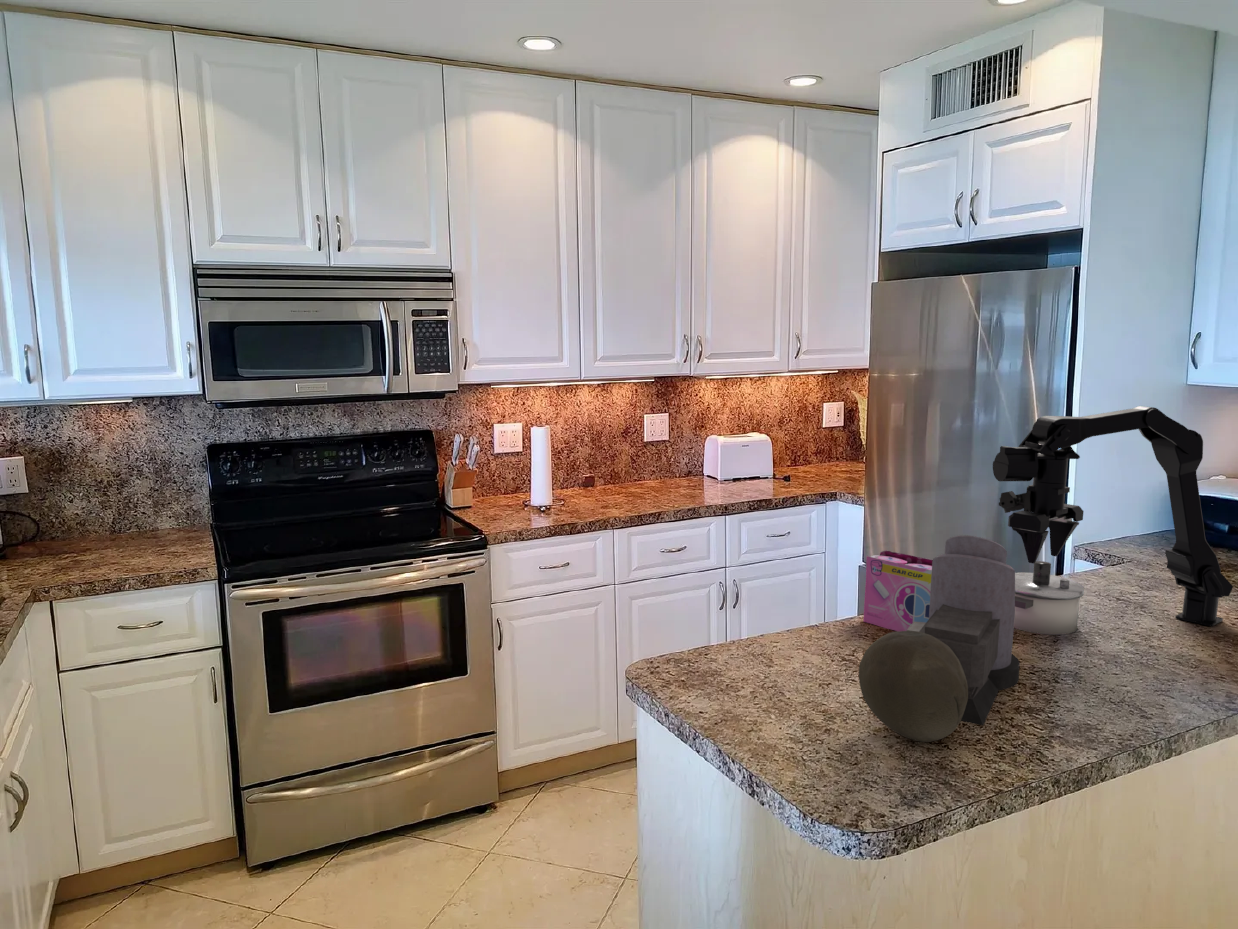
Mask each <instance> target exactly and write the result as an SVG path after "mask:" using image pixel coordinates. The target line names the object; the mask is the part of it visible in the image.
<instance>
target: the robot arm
mask: <svg viewBox="0 0 1238 929" xmlns="http://www.w3.org/2000/svg"><path fill="white" fill-rule="evenodd" d="M1135 430H1138V431H1139V433H1140V434H1141V436H1142V437H1143V438H1145V439H1146V440H1147V441H1148V442H1150V444H1151V447H1152V450H1153V454H1154V456H1155V459H1156V460H1157V462H1158V464H1159V465H1160V467H1161V468H1162V469H1163V471H1164V472H1165V474H1166V481H1167V487H1168V493H1169V500H1170V506H1171V513H1172V514H1171V516H1172V522H1173V529H1174V534H1175V542H1174V545H1173V546H1172V549H1165V551H1164V554H1165V558H1166V560H1167V565H1166V568H1167V569H1168V570H1170V573H1171V575H1172V576H1174V579H1175V584H1176V585H1178V586H1181V587H1183V588H1184V595H1183V603H1182V604H1183V606H1182V612H1180V613H1178V614H1176V615H1175V618H1174V619H1177V620H1181V621H1185V622H1189V623H1190V622H1191V623H1195V624H1200V625H1204V626H1207V627H1214V626H1215V625H1218V624H1219V623H1221V622H1223V621H1224V620H1223V619H1224V618H1223V617H1218V609H1219V607H1218V606H1219V601H1220V600H1219V598H1224V597H1229V596H1230V595H1231V592H1232V590H1233V589H1234V587H1233V584H1232V583H1231V582H1230V581H1229V580H1228V579H1227V578H1226V577H1225V576H1224V574H1223V573H1222V572H1221V570H1222V569H1221V565H1220V563H1219V559H1218V557H1217V554H1216V553H1215V552H1214V550H1213V548H1211V546H1210V544H1209V543H1208V541H1207V539H1206V533H1205V525H1204V519H1203V518H1204V517H1203V512H1202V505H1201V504H1202V503H1201V497H1200V492H1199V491H1200V490H1199V483H1198V475H1197V470H1198V468H1199V466H1200V464H1201V463H1202V460H1203V457H1204V440H1203V437H1202V435H1201V434H1200V433H1199V432H1197V431H1196V430H1193V429H1189V428H1187V426H1185V425H1183V424H1181V423H1180V422H1179V421H1176V420H1174V419H1172V418H1171V417H1169V416H1168V415H1166V414H1165V413H1163V412H1162V410H1160V409H1159V408H1157V407H1153V406H1145V405H1139V406H1136V407H1133V408H1127V409H1121V410H1116V411H1108V412H1103V413H1096V414H1095V413H1094V414H1090V415H1084V416H1069V415H1068V416H1067V415H1066V416H1065V415H1043V416H1040V417H1038V418H1036V420H1035V422H1034V424H1033V426H1032V429H1031V430H1030V432H1029V433H1028V434H1027V435H1026V437H1025V438H1024V439H1023V440H1022V442H1020V444H1019V445H1018V446H1007V445H1000V446H999V452H998V453H997V454H995V458H994V460H993V461H992V472H993V476H994V478H995V479H996V481H997V482H1030V481H1032V484H1029V485H1028V486H1027V487H1026V492H1023V493H1019V494H1018V493H1017V494H1016V493H1015V492H1014V491H1013V490H1010V491H1006V492H1001V493H1000V497H999V502H998V506H999V507H1001V508H1002V509H1003V511H1004V513H1005V514H1007V513H1010V512H1012V513H1011V514H1010V515H1009V516H1008V518H1007V519H1008V523H1007V526H1008V527H1009V528H1011V529H1012V531H1015V532H1016V533H1017V534H1019V536H1020V537H1021V540H1022V544H1023V546H1024V551H1025V553H1026V559H1027V561H1028V563H1029V564H1034V563H1035V562H1036V561H1038V560H1037V559H1038V557H1039V556H1040V553H1041V550H1042V549H1043V546H1044V543H1045V542H1046V539H1047V537H1048V534H1049V548H1050V555H1051V556H1052V557H1058V555H1059V554H1060V553H1061V551H1062V549H1063V548H1064V546H1065V545H1066V543H1067V541H1068V540H1069V538H1070V537H1071V535H1072V534H1073V533H1074V531H1075V530H1076V528H1077V527H1078V526H1079V525H1080V521H1084V520H1083V519H1084V510H1083V509H1082V507H1081V506H1080V505H1075V504H1069V503H1068V504H1067V503H1065V499H1066V498H1065V497H1066V494H1068V493H1070V490H1071V489H1070V488H1071V487H1069V486H1067V477H1068V476H1067V475H1068V464H1069V460H1079V459H1080V458H1081V456H1080V454H1078V453H1077V452H1076V451H1075V450H1074V449H1073V446H1074V445H1077V444H1080V443H1082V442H1083V441H1085V440H1087V439H1089V438H1092V437H1097V436H1104V435H1109V434H1116V433H1122V432H1123V433H1124V432H1128V431H1135ZM1048 529H1049V530H1048Z"/></svg>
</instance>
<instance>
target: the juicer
mask: <svg viewBox="0 0 1238 929" xmlns="http://www.w3.org/2000/svg"><path fill="white" fill-rule="evenodd" d="M1007 555H1008V552H1007V549H1006V548H1005V547H1004V546H1003V545H1001V544H1000V543H998V542H996V541H993V540H991V539H988V538H984V537H981V536H975V535H966V534H965V535H963V534H962V535H960V534H959V535H954V536H951V537H949V538H947V539H946V541H945V544H944V554H943V553H941V554H938V555H937V556H935V557H934V558H932V560H933V561H932V575H931V591H930V608H929V620H928V621H927V622H913V623H912V624H911V626H910V627H909V628H908V629H907V631H916V632H922V633H925V634H929V635H931V636H933V637H935V638H937V639H938V640H940V641H941V642H943V643H944V644H946V645H947V646H949V647H950V649H951V650H952V651H953V652H954V654H955V655H956V657H957V658H958V659H959V661H960V663H961V666H962V668H963V671H964V673H965V677H966V680H967V685H968V701H967V704H966V708H965V711H964V714H963V716H962V719H961V721H960V722H965V723H970V724H973V725H978V726H984V725H985V723H986V720H988V719H987V718H988V716H989V713H990V711H991V709H992V706H993V705H994V703H995V700H996V698H997V695H998V693H999V691H1003V690H1008V689H1010V688H1013V687H1015V686H1016V685H1017V684H1018V682H1019V680H1020V665H1021V662H1020V659H1019V658H1018V657H1017V656H1016V655H1015V654H1013V641H1014V630H1015V628H1014V618H1015V573H1016V570H1015V568H1013V567H1012V566H1011V565H1009V564H1007Z"/></svg>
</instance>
